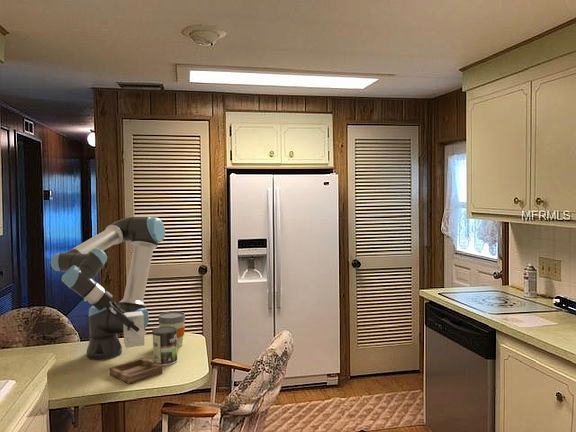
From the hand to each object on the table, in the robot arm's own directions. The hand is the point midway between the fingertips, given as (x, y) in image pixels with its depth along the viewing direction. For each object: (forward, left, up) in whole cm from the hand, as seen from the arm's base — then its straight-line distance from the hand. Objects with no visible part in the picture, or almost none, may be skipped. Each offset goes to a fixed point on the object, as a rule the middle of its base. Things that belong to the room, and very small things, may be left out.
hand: (142, 332), depth 201 cm
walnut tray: (-1, -3, -17) cm, 17 cm away
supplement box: (-1, -3, -5) cm, 6 cm away
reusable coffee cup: (-19, +27, -17) cm, 38 cm away
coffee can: (-4, +13, -17) cm, 22 cm away
